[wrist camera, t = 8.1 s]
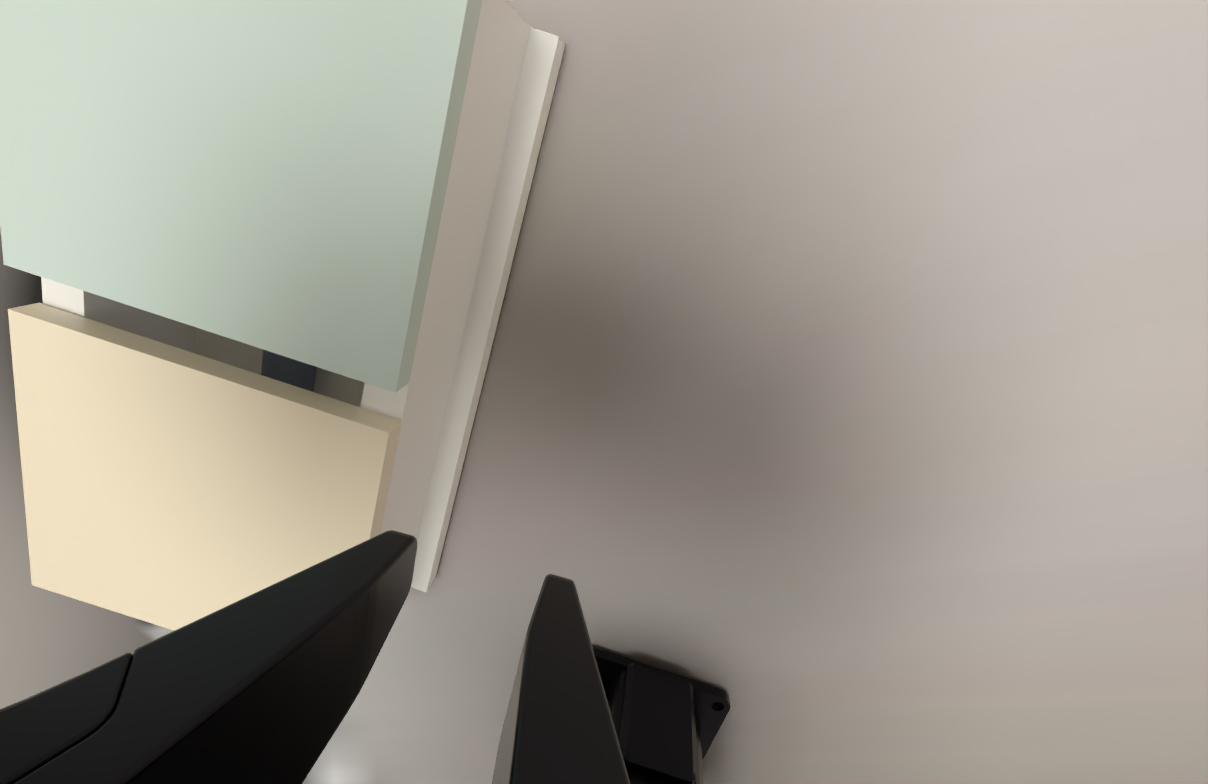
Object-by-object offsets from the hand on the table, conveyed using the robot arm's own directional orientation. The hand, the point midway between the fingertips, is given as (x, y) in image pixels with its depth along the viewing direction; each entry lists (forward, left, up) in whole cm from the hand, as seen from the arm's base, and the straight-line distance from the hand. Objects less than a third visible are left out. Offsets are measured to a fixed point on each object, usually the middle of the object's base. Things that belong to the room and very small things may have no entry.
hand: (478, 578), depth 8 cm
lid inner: (-7, +9, -7) cm, 14 cm away
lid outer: (+4, +9, -7) cm, 12 cm away
